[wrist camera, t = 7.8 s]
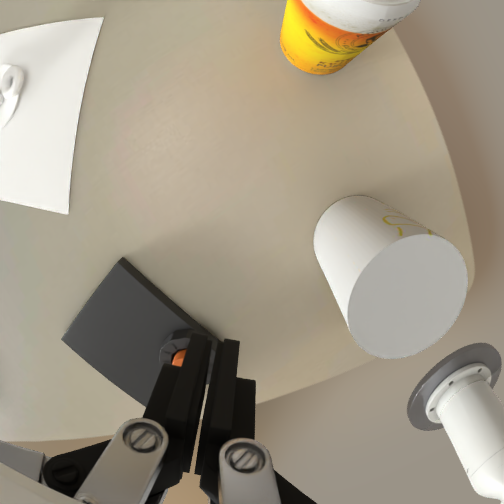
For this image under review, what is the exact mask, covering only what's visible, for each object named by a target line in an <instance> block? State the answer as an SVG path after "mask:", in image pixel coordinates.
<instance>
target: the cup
mask: <svg viewBox="0 0 504 504" xmlns="http://www.w3.org/2000/svg"><path fill="white" fill-rule="evenodd" d="M313 243H314V251H315V255H316V258H317V260H318V262H319V264H320V266H321V268H322V270H323V272H324V275H325V277H326V279H327V281H328V283H329V285H330V288H331V290H332V292H333V294H334V296H335V298H336V301H337V303H338V305H339V307H340V310H341V312H342V314H343V316H344V319H345V321H346V323H347V325H348V328H349V330H350V332H351V335H352V337H353V338H354V340H355V342H356V343H357V344H358V345H359V346H360V347H361V348H362V349H363V350H364V351H366V352H367V353H369V354H371V355H374V356H376V357H380V358H386V359H396V358H404V357H408V356H411V355H414V354H417V353H419V352H421V351H423V350H425V349H427V348H428V347H430V346H431V345H433V344H434V343H435V342H437V341H438V340H439V339H440V338H441V337H442V336H443V335H444V334H445V333H446V332H447V331H448V330H449V329H450V327H451V326H452V324H453V323H454V322H455V320H456V319H457V317H458V315H459V313H460V311H461V309H462V306H463V304H464V301H465V297H466V293H467V286H468V276H467V269H466V265H465V262H464V259H463V257H462V255H461V254H460V252H459V251H458V249H457V248H456V247H455V246H454V245H453V244H452V243H450V242H449V241H447V240H446V239H444V238H443V237H441V236H439V235H438V234H436V233H434V232H433V231H431V230H429V229H428V228H426V227H424V226H423V225H421V224H419V223H417V222H416V221H414V220H412V219H410V218H409V217H407V216H405V215H403V214H402V213H400V212H398V211H396V210H394V209H393V208H391V207H389V206H387V205H385V204H383V203H382V202H380V201H378V200H376V199H374V198H371V197H368V196H360V195H357V196H350V197H346V198H343V199H341V200H339V201H337V202H335V203H334V204H332V205H331V206H330V207H329V208H328V209H327V210H326V211H325V212H324V213H323V215H322V216H321V218H320V219H319V221H318V223H317V226H316V229H315V232H314V241H313Z"/></svg>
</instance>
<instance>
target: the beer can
mask: <svg viewBox="0 0 504 504" xmlns="http://www.w3.org/2000/svg"><path fill="white" fill-rule="evenodd" d="M420 1H421V0H287V5H286V10H285V14H284V19H283V24H282V29H281V34H280V45H281V48H282V51H283V53H284V55H285V56H286V58H287V59H288V60H289V61H290V62H291V63H292V64H293V65H294V66H296V67H297V68H299V69H301V70H303V71H305V72H308V73H312V74H318V75H324V74H330V73H334V72H336V71H338V70H340V69H341V68H343V67H344V66H345V65H346V64H347V63H349V62H350V61H351V60H352V59H353V58H355V57H356V56H357V55H358V54H360V53H361V52H362V51H363V50H364V49H366V48H367V47H368V46H369V45H371V44H372V43H373V42H374V41H376V40H377V39H378V38H379V37H381V36H382V35H383V34H384V33H386V32H387V31H388V30H390V29H391V28H392V27H394V26H395V25H396V24H397V23H399V22H400V21H401V20H403V19H404V18H405V17H407V16H408V15H409V14H411V13H412V12H413V11H414V10H415V9H416V8H417V7H418V5H419V3H420Z"/></svg>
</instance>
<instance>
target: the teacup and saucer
mask: <svg viewBox="0 0 504 504" xmlns="http://www.w3.org/2000/svg"><path fill="white" fill-rule="evenodd" d="M24 79H25V75H24V70H23V69H22V67H21V66H19V65H18V64H11V63H2V64H0V130H2V129H3V128H4V127H5V126H6V125H7V124H8V123H9V121H10V120H11V118H12V117H13V115H14V113H15V111H16V108H17V105H18V102H19V98H20V93H21V89H22V87H23V84H24Z"/></svg>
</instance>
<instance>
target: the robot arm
mask: <svg viewBox="0 0 504 504" xmlns="http://www.w3.org/2000/svg"><path fill="white" fill-rule="evenodd" d="M207 338H208V335H204V334H199V333H195V332H192V335H191V338H190V341H189V344H188V347H187V350H186V353H185V356H184V359H183V362H182V365H181V367H180V366H176V365H172V364H167V363H164V364H163V366H162V368H161V371H160V373H159V376H158V378H157V381H156V384H155V386H154V389H153V391H152V394H151V396H150V399H149V402H148V404H147V407H146V410H145V412H144V415H143V418H135V419H130V420H128V421H126V422H124V423H123V424H122V425H121V426H120V428H119V429H118V431H117V432H116V434H115V435H114V437H113V438H112V439H110V440H107V441H104V442H101V443H98V444H95V445H92V446H88V447H85V448H82V449H79V450H75V451H72V452H68V453H65V454H60V455H57V456H55V457H48V456H45V454H44V453H41V452H38V451H34V450H30V449H27V448H23V447H20V446H16V445H13V444H10V443H7V442H4V441H1V440H0V504H162V503H163V501H164V499H165V496H166V494H167V492H168V488H170V487H172V486H174V485H176V484H178V483H179V481H180V479H182V474H183V472H187V473H189V471H190V466H191V461H192V456H193V450H194V445H195V440H196V435H197V429H198V425H199V420H200V415H201V410H202V405H203V400H204V394H205V388H206V381H207V375H208V369H209V362H210V356H211V350H212V343H213V340H209V339H207ZM239 344H240V341H236V340H231V339H224V342H219V341H218V343H217V348H216V353H215V358H214V363H213V368H212V373H211V378H210V383H209V388H208V394H207V399H206V404H205V409H204V415H203V420H202V426H201V432H200V439H199V446H198V452H197V460H196V466H195V473H194V474H197V475H201V479H200V488H201V489H202V490H203V491H204V492H205V494H207V496H208V504H317V503H316V502H314V501H313V500H312V499H310V498H309V497H308V496H306V495H305V494H303V493H302V492H301V491H299V490H298V489H297V488H296V487H295V486H293V485H292V484H291V483H289V482H288V481H287V480H286V479H285V478H283V477H282V476H281V475H280V474H278V473H277V472H276V471H275V470H274V469H273V465H272V459H271V456H270V454H269V451H268V450H267V449H266V447H265V446H264V445H262V444H261V443H259V442H258V441H255V440H254V437H255V436H254V435H255V395H256V382H255V380H250V379H243V378H237V377H236V375H237V365H238V355H239ZM490 382H491V371H490V370H489V368H488V367H487V366H486V365H485V364H483V363H473V364H469V365H466V366H464V367H462V368H460V369H458V370H457V371H455V372H454V373H452V374H451V375H449V376H448V377H447V378H446V379H445V380H444V381H443V382H441V383H440V384H439V386H438V387H437V388H436V389H435V390H434V392H433V393H432V394H431V396H430V398H429V400H428V402H427V405H426V415H427V417H428V419H429V420H430V421H431V422H434V423H442V424H443V426H444V428H445V430H446V432H447V434H448V436H449V438H450V440H451V442H452V444H453V446H454V448H455V450H456V452H457V454H458V456H459V458H460V461H461V462H462V465H463V467H464V469H465V471H466V473H467V476H468V478H469V480H470V482H471V484H472V486H473V488H474V490H475V491H476V492H477V493H478V494H479V495H481V496H484V497H488V498H495V499H499V500H501V503H500V504H504V405H503V404H502V403H501V401H500V400H499V398H498V397H497V395H496V394H495V392H494V391H493V390H492V388H491V387H490V386H489V385H490Z"/></svg>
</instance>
